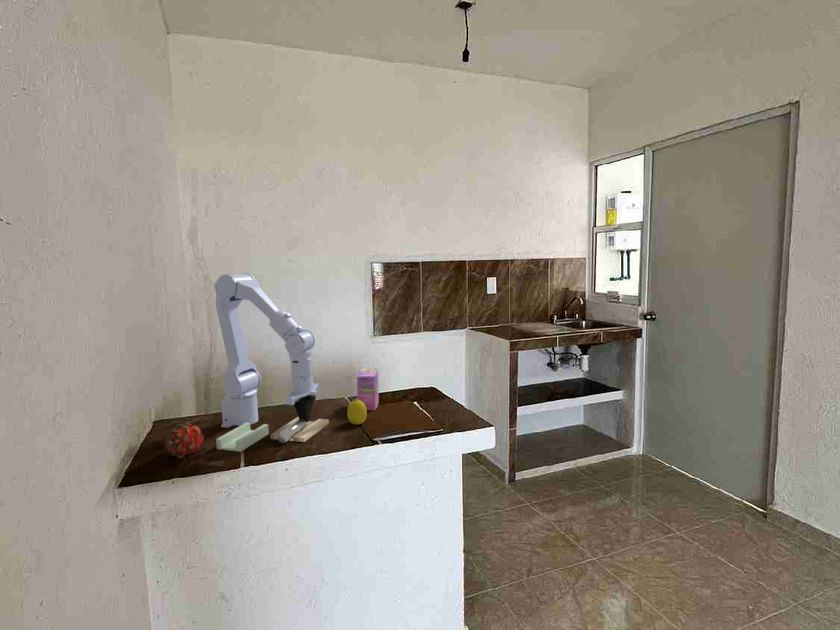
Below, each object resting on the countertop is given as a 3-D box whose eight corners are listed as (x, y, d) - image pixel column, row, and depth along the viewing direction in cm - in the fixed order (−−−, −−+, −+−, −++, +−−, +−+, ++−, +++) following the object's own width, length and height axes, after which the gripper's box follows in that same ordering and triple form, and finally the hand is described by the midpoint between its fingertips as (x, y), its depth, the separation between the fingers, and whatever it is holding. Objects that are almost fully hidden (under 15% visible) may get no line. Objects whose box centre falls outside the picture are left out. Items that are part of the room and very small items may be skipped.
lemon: (363, 430, 132) (362, 402, 131) (345, 429, 133) (343, 401, 132) (369, 423, 137) (368, 396, 136) (351, 422, 138) (350, 395, 137)
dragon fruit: (173, 473, 111) (190, 458, 123) (203, 449, 113) (217, 437, 124) (149, 445, 111) (169, 434, 123) (179, 422, 112) (196, 412, 124)
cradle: (217, 452, 119) (216, 439, 118) (246, 434, 130) (245, 422, 130) (241, 455, 117) (240, 441, 116) (268, 436, 128) (268, 424, 128)
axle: (288, 442, 121) (286, 431, 121) (278, 443, 122) (276, 431, 122) (307, 428, 131) (306, 418, 130) (298, 428, 131) (296, 418, 131)
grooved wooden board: (270, 442, 125) (270, 434, 125) (298, 423, 138) (297, 416, 138) (304, 445, 122) (304, 438, 122) (329, 426, 135) (328, 419, 135)
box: (376, 413, 146) (374, 375, 144) (357, 413, 146) (356, 376, 145) (379, 402, 156) (378, 367, 155) (362, 402, 156) (360, 368, 155)
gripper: (301, 382, 122) (304, 432, 124) (327, 369, 136) (329, 414, 138) (277, 381, 124) (280, 430, 126) (305, 367, 138) (307, 412, 140)
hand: (304, 422), depth 132 cm, fingers closed
